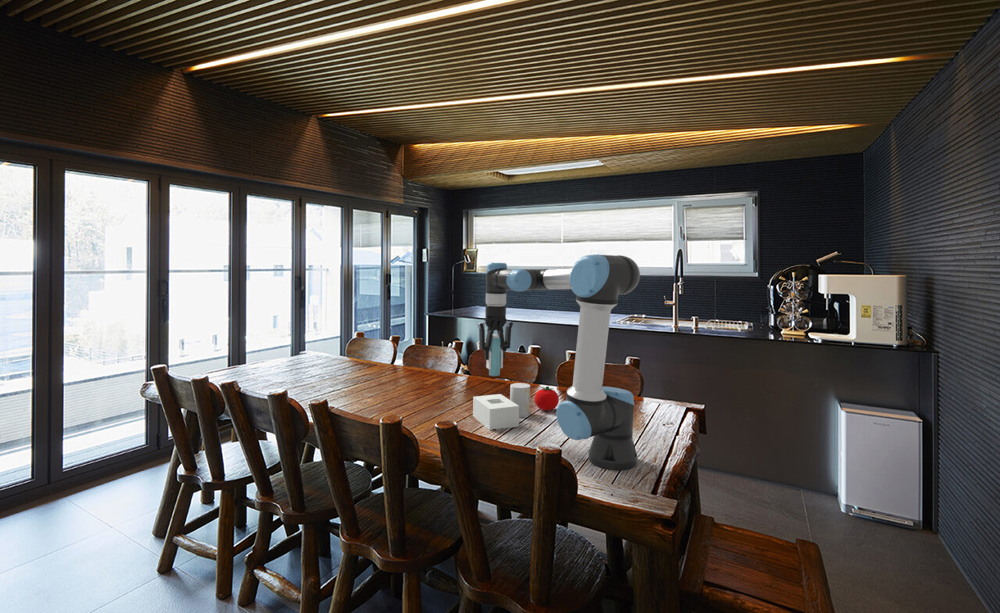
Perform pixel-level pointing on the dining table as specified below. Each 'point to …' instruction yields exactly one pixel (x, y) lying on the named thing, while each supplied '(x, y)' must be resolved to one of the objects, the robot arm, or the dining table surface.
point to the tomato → (546, 399)
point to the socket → (496, 411)
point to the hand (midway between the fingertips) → (494, 367)
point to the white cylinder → (521, 397)
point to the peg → (495, 356)
